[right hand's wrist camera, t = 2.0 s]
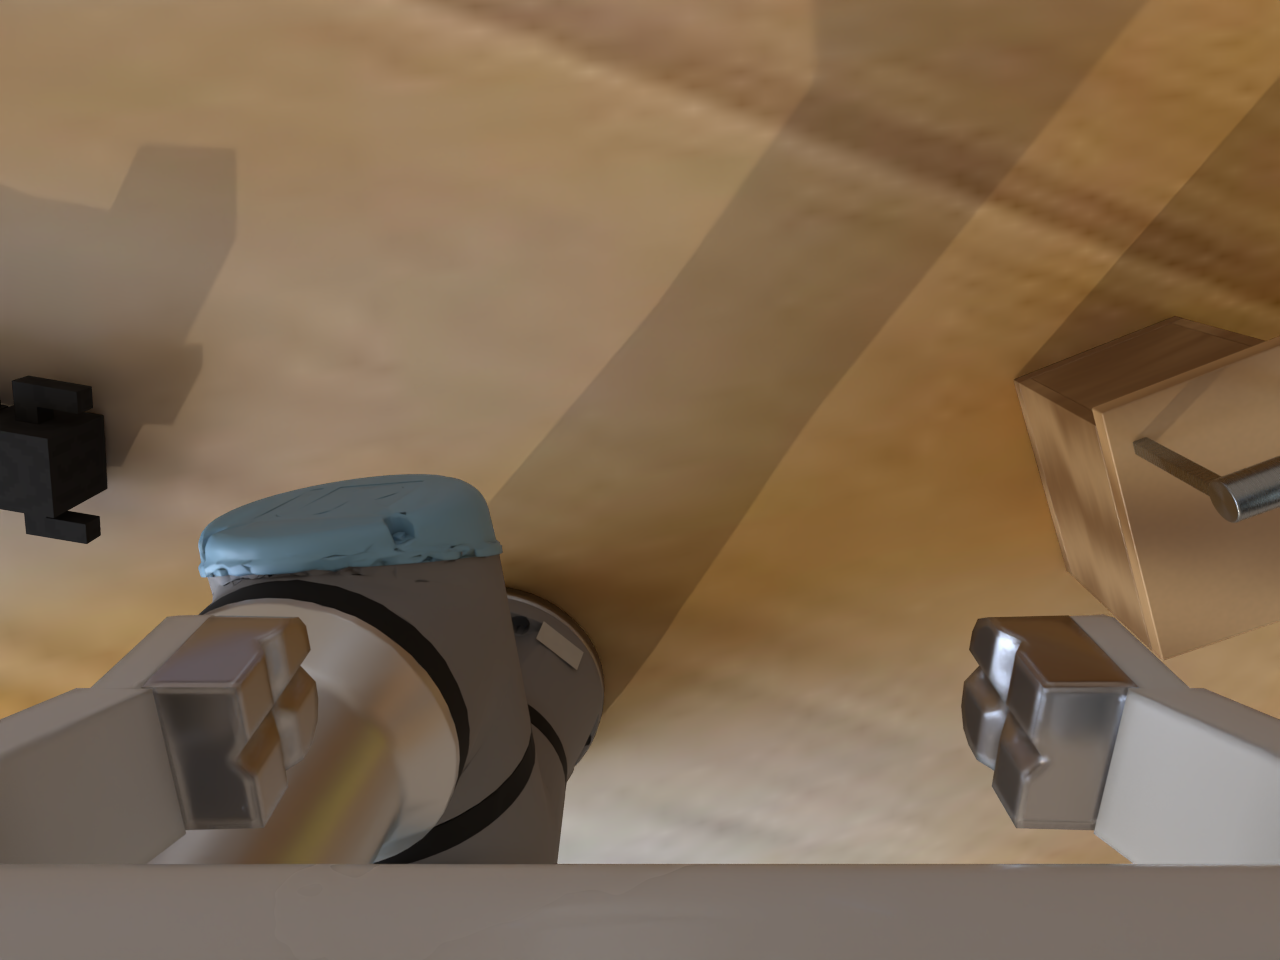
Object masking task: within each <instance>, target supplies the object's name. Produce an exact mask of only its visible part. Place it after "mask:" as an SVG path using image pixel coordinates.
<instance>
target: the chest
mask: <svg viewBox="0 0 1280 960" xmlns="http://www.w3.org/2000/svg"><path fill="white" fill-rule="evenodd" d="M1263 342H1265V341H1264V340H1260V339H1257V338H1253V337H1249V336H1245V335H1242V334H1238V333H1234V332H1231V331H1227V330H1223V329H1220V328H1216V327H1212V326H1209V325H1205V324H1201V323H1198V322H1194V321H1190V320H1187V319H1182V318H1180V317H1176V316H1174V317H1172V318H1169V319H1167V320H1164V321H1162V322H1159V323H1157V324H1154V325H1151V326H1149V327H1146V328H1144V329H1141V330H1139V331H1136V332H1134V333H1131V334H1129V335H1126V336H1124V337H1121V338H1118V339H1116V340H1113V341H1111V342H1108V343H1106V344H1103V345H1101V346H1098V347H1096V348H1093V349H1090V350H1088V351H1085V352H1083V353H1080V354H1078V355H1075V356H1073V357H1070V358H1068V359H1065V360H1063V361H1060V362H1057V363H1055V364H1052V365H1050V366H1047V367H1045V368H1042V369H1040V370H1037V371H1035V372H1032V373H1029V374H1027V375H1024V376H1022V377H1019V378H1017V379H1014V384H1015V387H1016V391H1017V394H1018V398H1019V401H1020V405H1021V409H1022V412H1023V416H1024V419H1025V423H1026V426H1027V430H1028V434H1029V437H1030V441H1031V444H1032V448H1033V451H1034V455H1035V459H1036V462H1037V466H1038V469H1039V473H1040V476H1041V480H1042V484H1043V487H1044V491H1045V494H1046V498H1047V501H1048V505H1049V509H1050V512H1051V516H1052V519H1053V523H1054V526H1055V530H1056V534H1057V537H1058V541H1059V544H1060V548H1061V551H1062V555H1063V559H1064V562H1065V566H1066V569H1067V571H1068V572H1069V573H1070V574H1071V575H1072V576H1073V577H1074V578H1075V579H1076V580H1077V581H1078V582H1079V583H1080V584H1082V585H1083V586H1084V587H1085V588H1086V589H1087V590H1088V591H1089V592H1090V593H1091V594H1092V595H1093V596H1094V597H1095V598H1096V599H1098V600H1099V601H1100V602H1101V603H1102V604H1103V605H1104V606H1105V607H1106V608H1107V609H1108V610H1109V611H1110V612H1111V613H1112V614H1114V615H1115V616H1116V617H1117V618H1118V619H1119V620H1120V621H1121V622H1122V623H1123V624H1124V625H1125V626H1126V627H1127V628H1128V629H1130V630H1131V631H1132V632H1133V633H1134V634H1135V635H1136V636H1137V637H1138V638H1139V639H1140V640H1141V641H1142V642H1143V643H1144V644H1145V645H1147V646H1148V647H1149V648H1150V649H1151V650H1152V647H1151V643H1150V639H1149V635H1148V631H1147V627H1146V623H1145V619H1144V615H1143V611H1142V607H1141V603H1140V599H1139V595H1138V591H1137V587H1136V583H1135V579H1134V575H1133V571H1132V567H1131V563H1130V559H1129V555H1128V551H1127V547H1126V543H1125V539H1124V535H1123V531H1122V527H1121V523H1120V519H1119V515H1118V511H1117V507H1116V503H1115V499H1114V495H1113V491H1112V487H1111V483H1110V479H1109V475H1108V471H1107V467H1106V463H1105V459H1104V455H1103V451H1102V447H1101V443H1100V439H1099V435H1098V431H1097V427H1096V423H1095V419H1094V415H1093V411H1092V408H1093V407H1096V406H1098V405H1101V404H1104V403H1106V402H1109V401H1111V400H1114V399H1117V398H1119V397H1122V396H1124V395H1127V394H1130V393H1132V392H1135V391H1137V390H1140V389H1143V388H1145V387H1148V386H1151V385H1153V384H1156V383H1158V382H1161V381H1164V380H1166V379H1169V378H1171V377H1174V376H1177V375H1179V374H1182V373H1184V372H1187V371H1190V370H1192V369H1195V368H1197V367H1200V366H1203V365H1205V364H1208V363H1210V362H1213V361H1216V360H1218V359H1221V358H1224V357H1226V356H1229V355H1231V354H1234V353H1237V352H1239V351H1242V350H1244V349H1247V348H1250V347H1252V346H1255V345H1257V344H1260V343H1263Z"/></svg>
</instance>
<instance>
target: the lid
mask: <svg viewBox="0 0 1280 960" xmlns="http://www.w3.org/2000/svg"><path fill="white" fill-rule="evenodd" d="M1092 411H1093V415H1094V419H1095V423H1096V427H1097V431H1098V435H1099V439H1100V443H1101V447H1102V451H1103V455H1104V459H1105V463H1106V467H1107V471H1108V475H1109V479H1110V483H1111V487H1112V491H1113V495H1114V499H1115V503H1116V507H1117V511H1118V515H1119V519H1120V523H1121V527H1122V531H1123V535H1124V539H1125V543H1126V547H1127V551H1128V555H1129V559H1130V563H1131V567H1132V571H1133V575H1134V579H1135V583H1136V587H1137V591H1138V595H1139V599H1140V603H1141V607H1142V611H1143V615H1144V619H1145V623H1146V627H1147V631H1148V635H1149V639H1150V643H1151V647H1152V651H1153V652H1154V653H1155V654H1156V655H1158V656H1159V657H1160V658H1161V659H1162V660H1166V659H1169V658H1172V657H1175V656H1178V655H1181V654H1184V653H1187V652H1190V651H1193V650H1196V649H1199V648H1202V647H1205V646H1208V645H1211V644H1214V643H1217V642H1220V641H1222V640H1225V639H1228V638H1231V637H1234V636H1237V635H1240V634H1243V633H1246V632H1249V631H1252V630H1255V629H1258V628H1261V627H1264V626H1267V625H1270V624H1273V623H1276V622H1279V621H1280V336H1278V337H1276V338H1273V339H1270V340H1268V341H1265V342H1263V343H1260V344H1257V345H1255V346H1252V347H1250V348H1247V349H1244V350H1242V351H1239V352H1237V353H1234V354H1231V355H1229V356H1226V357H1224V358H1221V359H1218V360H1216V361H1213V362H1210V363H1208V364H1205V365H1203V366H1200V367H1197V368H1195V369H1192V370H1190V371H1187V372H1184V373H1182V374H1179V375H1177V376H1174V377H1171V378H1169V379H1166V380H1164V381H1161V382H1158V383H1156V384H1153V385H1151V386H1148V387H1145V388H1143V389H1140V390H1137V391H1135V392H1132V393H1130V394H1127V395H1124V396H1122V397H1119V398H1117V399H1114V400H1111V401H1109V402H1106V403H1104V404H1101V405H1098V406H1096V407H1093V408H1092Z"/></svg>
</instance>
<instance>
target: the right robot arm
mask: <svg viewBox="0 0 1280 960" xmlns="http://www.w3.org/2000/svg"><path fill="white" fill-rule="evenodd" d="M310 650H311V648H310V643H309V638H308V633H307V628H306V625H305V624H304V623H303V621H302V620H301V619H300V618H299V617H269V616H215V615H182V616H171V617H166V618H165V619H164V620H163V621H162V622H161V623H160V624H159V625H158V626H157V627H156V628H155V629H153V630H152V631H151V632H150V633H149V634H148V635H147V636H146V637H145V638H144V639H143V640H142V641H141V642H139V643H138V644H137V645H136V646H135V647H134V648H133V649H132V650H131V651H130V652H129V653H128V654H127V655H125V656H124V657H123V658H122V659H121V660H120V661H119V662H118V663H117V664H116V665H115V666H114V667H113V668H111V669H110V670H109V671H108V672H107V673H106V674H105V675H104V676H103V677H102V678H101V679H100V680H99V681H97V682H96V683H95V684H94V685H93V686H92V687H91V688H76V689H73V690H71V691H69V692H66V693H64V694H61V695H59V696H56V697H54V698H52V699H49V700H47V701H44V702H42V703H39V704H37V705H35V706H32V707H30V708H27V709H25V710H22V711H20V712H18V713H15V714H13V715H10V716H8V717H5V718H3V719H1V720H0V960H1280V720H1279V719H1277V718H1274V717H1272V716H1270V715H1267V714H1265V713H1262V712H1260V711H1257V710H1255V709H1253V708H1250V707H1248V706H1245V705H1243V704H1240V703H1238V702H1236V701H1233V700H1231V699H1228V698H1226V697H1224V696H1221V695H1219V694H1216V693H1214V692H1211V691H1209V690H1207V689H1204V688H1189V687H1188V686H1187V685H1186V684H1185V683H1184V682H1183V681H1182V680H1180V679H1179V678H1178V677H1177V676H1176V675H1175V674H1174V673H1173V672H1172V671H1171V670H1170V669H1169V668H1168V667H1167V666H1165V665H1164V664H1163V663H1162V662H1161V661H1160V660H1159V659H1158V658H1157V657H1156V656H1155V655H1154V654H1153V653H1151V652H1150V651H1149V650H1148V649H1147V648H1146V647H1145V646H1144V645H1143V644H1142V643H1141V642H1140V641H1139V640H1138V639H1136V638H1135V637H1134V636H1133V635H1132V634H1131V633H1130V632H1129V631H1128V630H1127V629H1126V628H1125V627H1124V626H1122V625H1121V624H1120V623H1119V622H1118V621H1117V620H1116V619H1115V618H1113V617H1110V616H1106V615H1079V616H1069V615H1068V616H1027V617H988V618H981V619H978V620H977V622H976V624H975V627H974V629H973V631H972V636H971V642H970V648H969V650H970V652H971V653H972V655H973V656H974V658H975V660H976V661H977V663H978V664H979V667H978V668H977V669H976V670H975V671H974V672H973V673H972V674H971V675H970V676H969V677H968V678H967V679H966V680H965V681H964V687H963V695H962V704H961V708H962V719H963V729H964V732H965V735H966V738H967V741H968V744H969V746H970V748H971V750H972V752H973V754H974V756H975V757H976V759H977V760H978V761H980V762H981V763H983V764H984V765H986V766H988V767H989V768H991V769H992V770H994V776H993V782H992V787H993V789H994V791H995V792H996V794H997V796H998V798H999V799H1000V801H1001V803H1002V804H1003V806H1004V808H1005V810H1006V811H1007V813H1008V815H1009V816H1010V818H1011V820H1012V822H1013V823H1014V825H1015V827H1016V828H1032V829H1068V830H1094V834H1095V835H1096V836H1098V837H1099V838H1100V839H1102V840H1103V841H1104V842H1106V843H1107V844H1108V845H1110V846H1111V847H1112V848H1114V849H1115V850H1116V851H1118V852H1119V853H1120V854H1121V855H1123V856H1124V857H1125V858H1127V859H1128V860H1129V861H1131V862H1132V863H1133V864H147V863H148V862H150V861H151V860H152V859H153V858H155V857H156V856H157V855H159V854H160V853H161V852H163V851H164V850H165V849H167V848H168V847H169V846H171V845H172V844H173V843H175V842H176V841H177V840H179V839H180V838H181V837H183V836H184V835H185V834H186V830H211V829H246V828H264V827H265V825H266V824H267V822H268V820H269V818H270V817H271V815H272V813H273V811H274V810H275V808H276V806H277V805H278V803H279V801H280V799H281V798H282V796H283V794H284V792H285V791H286V789H287V787H288V782H287V776H286V770H288V769H289V768H291V767H292V766H294V765H296V764H297V763H299V762H300V761H302V760H303V759H304V757H305V756H306V754H307V752H308V750H309V748H310V746H311V744H312V742H313V738H314V734H315V730H316V726H317V722H318V693H317V686H316V681H315V680H314V679H313V678H312V677H311V676H310V675H309V674H308V673H307V672H306V671H305V670H304V669H303V668H302V667H301V664H302V663H303V661H304V660H305V658H306V656H307V655H308V653H309V652H310Z"/></svg>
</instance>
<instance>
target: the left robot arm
mask: <svg viewBox="0 0 1280 960" xmlns="http://www.w3.org/2000/svg"><path fill="white" fill-rule="evenodd" d="M199 551H200V557H201V564H200V565H199V568H198V569H199V572H200V575H201V577H208V580H209V583H210V587H211V591H212V594H213V602H212V603H211V604H210V605H209V606H208V607H207V608H205V609H204V610H203V611H202V612H201V613H200V614H199V615H215V616H269V617H299V618H300V619H301V620H302V621H303V623H304V624H305V625H306V628H307V633H308V638H309V643H310V648H311V650H310V652H309V653H308V655H307V656H306V658H305V660H304V661H303V663H302V664H301V667H302V668H303V669H304V670H305V671H306V672H307V673H308V674H309V675H310V676H311V677H312V678H313V679H314V680H315V681H316V686H317V693H318V722H317V726H316V730H315V734H314V738H313V742H312V744H311V746H310V748H309V750H308V752H307V754H306V756H305V757H304V759H303V760H302V761H300V762H299V763H297V764H296V765H294V766H292V767H291V768H289V769H288V770H286V776H287V782H288V787H287V789H286V791H285V792H284V794H283V796H282V798H281V799H280V801H279V803H278V805H277V806H276V808H275V810H274V811H273V813H272V815H271V817H270V818H269V820H268V822H267V824H266V825H265V827H264V828H246V829H211V830H186V834H185V835H184V836H183V837H181V838H180V839H179V840H177V841H176V842H175V843H173V844H172V845H171V846H169V847H168V848H167V849H165V850H164V851H163V852H161V853H160V854H159V855H157V856H156V857H155V858H153V859H152V860H151V861H150V862H148V863H147V864H557V860H558V851H559V843H560V834H561V826H562V817H563V809H564V800H565V790H566V782H567V781H568V779H569V778H570V776H571V774H572V773H573V770H574V767H575V765H576V764H577V763H578V762H579V761H580V760H581V759H582V757H583V756H584V754H585V753H586V752H587V750H588V748H589V747H590V745H591V743H592V741H593V739H594V737H595V734H596V732H597V729H598V726H599V723H600V719H601V715H602V710H603V701H604V676H603V671H602V666H601V663H600V660H599V656H598V654H597V652H596V650H595V648H594V646H593V644H592V642H591V641H590V639H589V638H588V636H587V635H586V633H585V632H584V631H583V629H582V628H581V627H580V626H579V625H578V624H577V623H576V622H575V621H574V620H573V619H572V618H571V617H570V616H569V615H567V614H566V613H565V612H563V611H562V610H561V609H559V608H558V607H556V606H555V605H553V604H551V603H550V602H548V601H546V600H544V599H542V598H540V597H537V596H535V595H532V594H530V593H527V592H523V591H520V590H516V589H511V588H506V587H505V582H504V577H503V572H502V566H501V561H500V556H499V554H500V553H502V552H503V551H502V545H500V542H498V541H497V540H496V538H495V534H494V529H493V525H492V521H491V517H490V513H489V509H488V506H487V503H486V501H485V499H484V497H483V496H482V494H481V493H480V492H479V491H478V490H477V489H476V488H475V487H473V486H472V485H470V484H468V483H466V482H464V481H462V480H459V479H456V478H451V477H445V476H440V475H427V474H405V475H387V476H376V477H367V478H359V479H352V480H345V481H339V482H333V483H327V484H322V485H316V486H311V487H307V488H302V489H298V490H294V491H290V492H285V493H281V494H278V495H274V496H271V497H267V498H264V499H261V500H258V501H255V502H252V503H249V504H246V505H244V506H241V507H239V508H236V509H234V510H232V511H230V512H228V513H226V514H224V515H222V516H220V517H218V518H216V519H215V520H214V521H212V522H211V523H210V524H209V525H208V526H207V527H206V528H205V529H204V530H203V532H202V534H201V537H200V539H199Z"/></svg>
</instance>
